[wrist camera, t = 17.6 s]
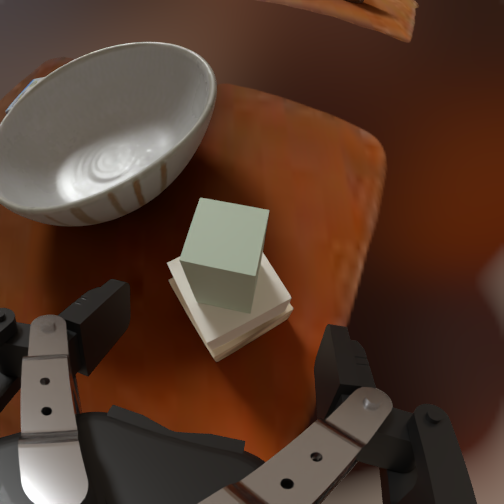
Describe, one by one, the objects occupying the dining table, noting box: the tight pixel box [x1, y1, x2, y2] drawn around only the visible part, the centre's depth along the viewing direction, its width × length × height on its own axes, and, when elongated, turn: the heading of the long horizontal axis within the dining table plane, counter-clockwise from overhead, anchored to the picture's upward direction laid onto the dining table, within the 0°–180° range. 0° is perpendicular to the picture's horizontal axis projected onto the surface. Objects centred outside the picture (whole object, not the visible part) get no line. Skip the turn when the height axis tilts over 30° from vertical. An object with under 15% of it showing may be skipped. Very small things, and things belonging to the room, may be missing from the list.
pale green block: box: [179, 198, 269, 314], centre depth 20 cm, size 4×4×8 cm
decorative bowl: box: [0, 42, 217, 226], centre depth 32 cm, size 27×27×12 cm
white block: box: [167, 253, 291, 350], centre depth 26 cm, size 7×7×4 cm
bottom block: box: [168, 277, 293, 362], centre depth 29 cm, size 8×8×4 cm
